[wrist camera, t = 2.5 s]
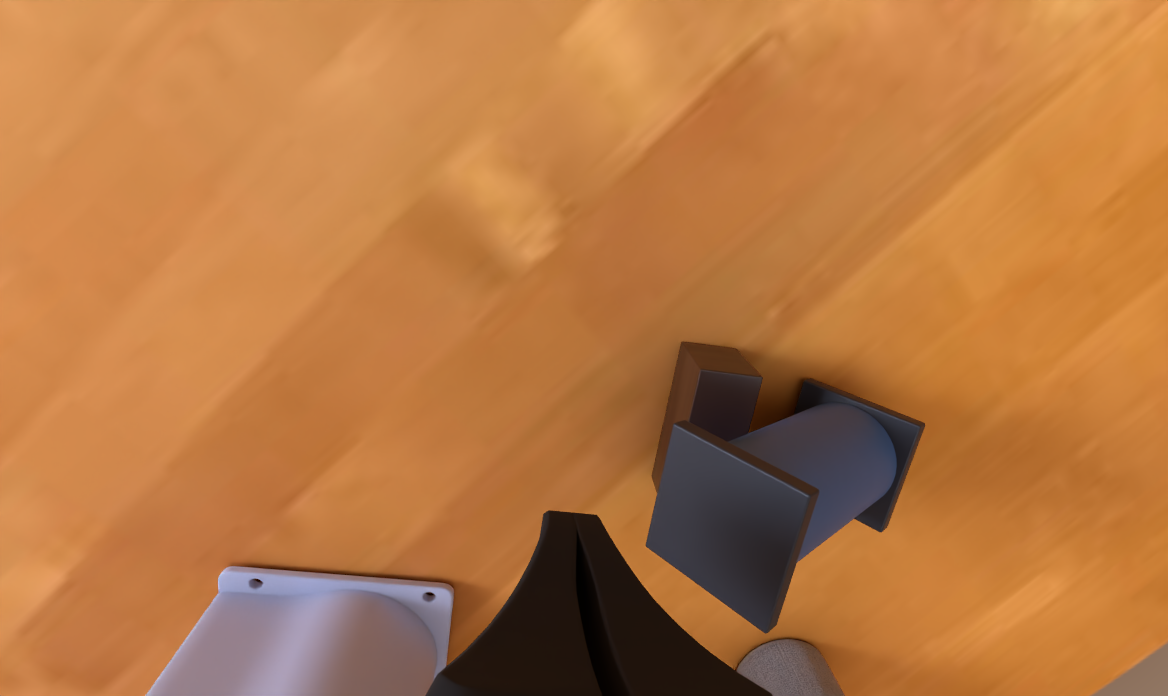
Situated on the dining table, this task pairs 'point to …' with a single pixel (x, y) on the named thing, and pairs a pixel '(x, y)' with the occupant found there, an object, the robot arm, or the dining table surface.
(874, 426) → the spool
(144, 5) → the dining table surface
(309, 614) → the robot arm
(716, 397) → the block
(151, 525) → the dining table surface
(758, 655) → the grey hollow cylinder
